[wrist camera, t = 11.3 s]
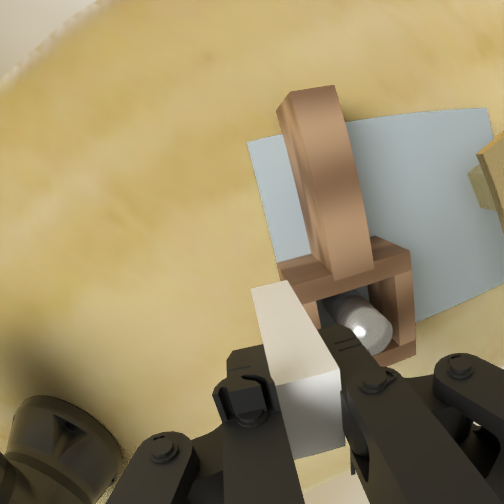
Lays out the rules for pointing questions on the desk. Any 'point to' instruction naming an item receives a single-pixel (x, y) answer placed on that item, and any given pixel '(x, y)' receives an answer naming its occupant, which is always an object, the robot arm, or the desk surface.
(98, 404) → the desk surface
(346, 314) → the cylinder
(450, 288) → the board
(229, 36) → the desk surface
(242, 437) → the robot arm
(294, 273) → the link
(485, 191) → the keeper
